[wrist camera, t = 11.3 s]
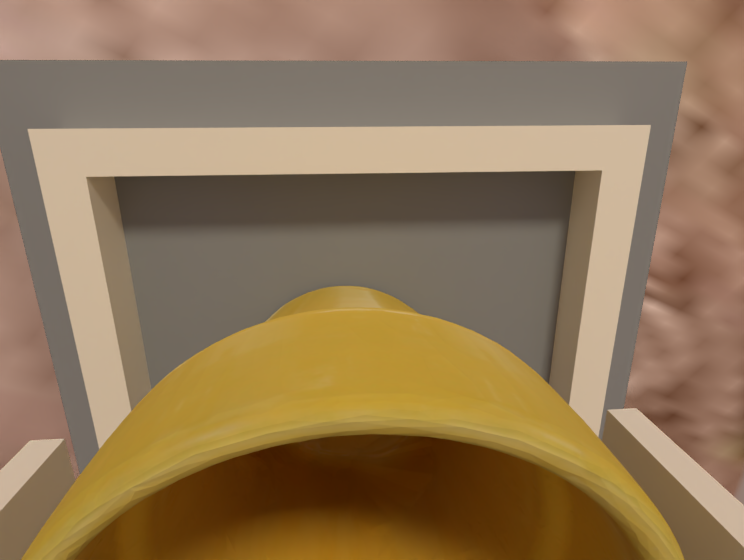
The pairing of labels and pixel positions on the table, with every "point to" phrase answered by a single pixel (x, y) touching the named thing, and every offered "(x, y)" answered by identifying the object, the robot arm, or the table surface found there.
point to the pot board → (334, 207)
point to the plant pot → (354, 453)
